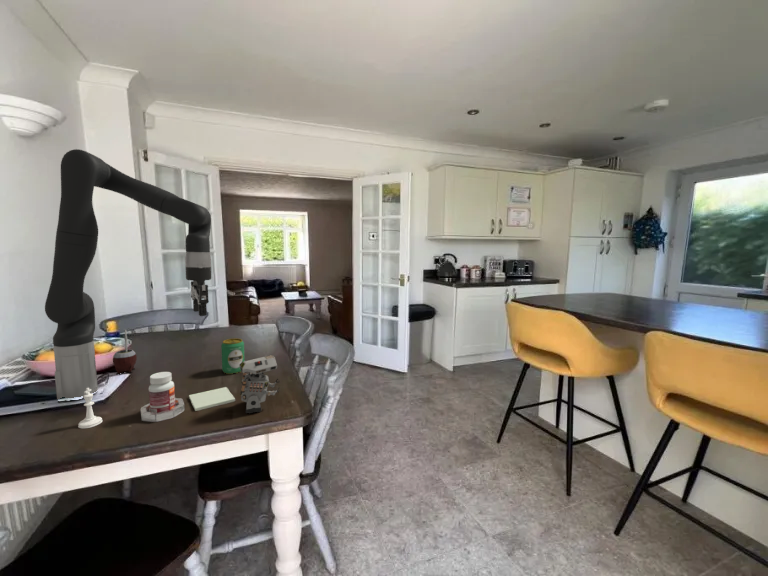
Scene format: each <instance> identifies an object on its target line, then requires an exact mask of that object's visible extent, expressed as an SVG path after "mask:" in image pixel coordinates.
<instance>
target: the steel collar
mask: <svg viewBox="0 0 768 576" xmlns="http://www.w3.org/2000/svg"><path fill="white" fill-rule="evenodd" d="M184 411H185V402H184V400H183V398H181V397H180V398H177V397H175V407H174V408H173V409H171V410H167V411H163V412H159V413H154V412H150V402H149V403H147V404H145V405H144V406H142V407H140V417H141V422H142V421H143V422H149V423H150V422H151V423H152V422H153V423H157V422H162V421H165V420H169V419H173V418H175V417H177V416H179V415H180V414H181V413H183V412H184Z"/></svg>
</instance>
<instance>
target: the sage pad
mask: <svg viewBox="0 0 768 576" xmlns="http://www.w3.org/2000/svg"><path fill="white" fill-rule="evenodd" d="M188 398H189V401H190V402H191V405H192V407H193V409H194V411H195V412H196V411H201V410H206V409H210V408H215V407H216V406H221V405H226V404H230V403H234V402H236V398H235V396H234V395H233V394H232V393H231V392H230V390H229V388H228V387H227V386H224V387H220V388H219V387H218V388H215V389H211V390H207V391H202V392H198V393H193V394H189V395H188Z"/></svg>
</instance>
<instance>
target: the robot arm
mask: <svg viewBox="0 0 768 576" xmlns="http://www.w3.org/2000/svg"><path fill="white" fill-rule="evenodd" d="M94 188H100V189H103V190H108V191H111V192H114V193H117V194H120V195H123V196H125V197H127V198H129V199H131V200H133V201H135V202H137V203H139V204H141V205H143V206H145V207H148V208H150V209H152V210H154V211H157V212H159V213H162V214H164V215H166V216H171V217H173V218H175V219H176V220H178V221H181V222H183V223H184V224H186V225H188V231H187V232H188V233H187V235H186V236H185V256H184V261H185V264H184V265H185V280H186V281H190V298H191V301H192V306H193V307H192V309H193V312H194V313H195V312H197V313H198V316H199V317H204V316H205V317H206V316H207V312H208V311H207V305H208V304H209V302H210V301H209V285H208V284H206V282H205V281H210V280H212V257H211V245H210V244H211V243H210V235H211V227H212V218H211V217H212V216H211V213H210V211H209V210H208V208H206V207H204V206H202V205H200V204H198V203H195V202H193V201H190V200H187V199H185V198H182V197H180V196H178V195H177V194H174V193H172V192H170V191H167V190H166V189H164V188H161V187H159V186H157V185H154V184H151V183H148V182H145V181H142V180H140V179H136V178H134V177H131V176H130V175H127V174H125V173H124V172H122V171H119V170H118V169H116V168H115V167H113V166H112V165H111V164H108V163H107V162H105V160H103V159H102V158H100V157H98V156H96V155H94V154H92V153H90V152H88V151H86V150H82V149H77V148H75V149H71V150H69V151H67V152H66V153H64V154H63V156H62V158H61V162H60V201H59V202H60V203H59V209H58V212H59V213H58V220H57V221H58V222H57V226H56V232H55V233H56V234H55V241H54V242H55V243H54V254H53V255H54V256H53V264H52V276H51V281H50V284H49V289H48V292H47V296H46V299H45V303H44V312H45V315H46V316H47V318H48V319H49V320H50V321H51V322H53V323H55V324H57V328H56V331H55V333H54V334H53V337H52V345H53V346H52V347H53V355H54V365H55V370H54V380H55V393H56V400H57V399H60V398H62V397H65V398H74V397H81V396H84V395H86V394H87V393H84V392H85V391H86V388H89V389H91V391H90V393H94V392H96V391H97V390H98V389H99V388H98V387H99V385H98V376H97V364H96V354H95V353H96V352H95V339H94V334H95V330H96V315H95V314H96V313H95V309H96V308H95V303H94V300H93V299H92V297H91V296H90V295H89V294H88V293H86V292H84V284H85V278H86V275H87V273H88V272H89V268H90V267H91V265H92V263H93V260H94V258H95V255H96V251H97V248H98V247H97V245H98V239H99V225H98V220H97V217H96V214H95V210H94V206H93V205H94V204H93V196H94V190H95V189H94ZM98 391H99V390H98Z"/></svg>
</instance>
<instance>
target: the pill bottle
mask: <svg viewBox="0 0 768 576" xmlns="http://www.w3.org/2000/svg"><path fill="white" fill-rule="evenodd" d="M172 376H173V375H172V372H170V371H160V372H156V373H153V374H151V375H150V376H149V383H150V385H149V386H148V398H149V400H148V401H149V403H150V412H154V413H159V412H163V411H167V410H171V409H173V408H174V407H176V406H175V398H176V396H175V395H176V394H175V382H174V381H173V377H172Z"/></svg>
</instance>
